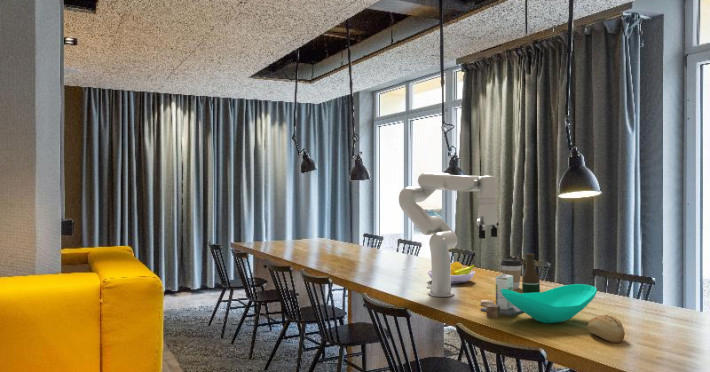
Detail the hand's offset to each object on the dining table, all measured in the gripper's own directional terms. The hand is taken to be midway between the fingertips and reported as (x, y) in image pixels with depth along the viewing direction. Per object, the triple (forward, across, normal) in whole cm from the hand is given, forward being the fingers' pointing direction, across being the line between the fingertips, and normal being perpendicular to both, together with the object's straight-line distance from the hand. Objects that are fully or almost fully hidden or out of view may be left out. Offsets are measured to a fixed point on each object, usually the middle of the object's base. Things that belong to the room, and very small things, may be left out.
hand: (488, 237), depth 266 cm
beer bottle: (+30, -2, +21) cm, 37 cm away
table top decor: (+30, +16, +40) cm, 53 cm away
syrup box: (+29, +12, +17) cm, 36 cm away
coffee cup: (+30, -34, -9) cm, 47 cm away
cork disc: (+30, +9, +5) cm, 32 cm away
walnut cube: (+30, +24, +19) cm, 43 cm away
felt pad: (+30, +12, +17) cm, 37 cm away
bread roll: (+30, +24, +67) cm, 77 cm away
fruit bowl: (+31, -27, -43) cm, 59 cm away
